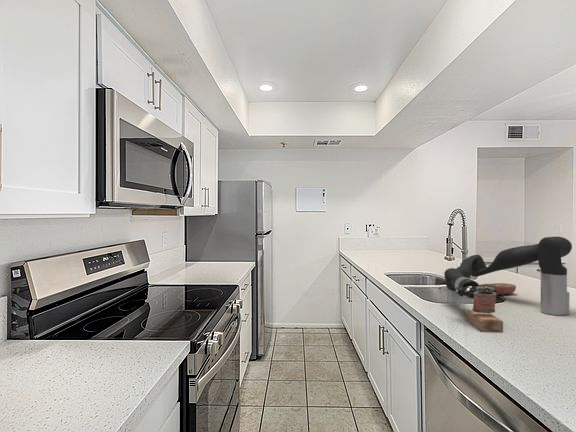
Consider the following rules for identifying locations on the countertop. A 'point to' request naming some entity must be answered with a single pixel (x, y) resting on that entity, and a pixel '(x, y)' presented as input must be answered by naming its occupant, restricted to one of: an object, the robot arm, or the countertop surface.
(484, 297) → the lighter
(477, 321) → the wooden block
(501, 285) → the mitochondrion cross-section
